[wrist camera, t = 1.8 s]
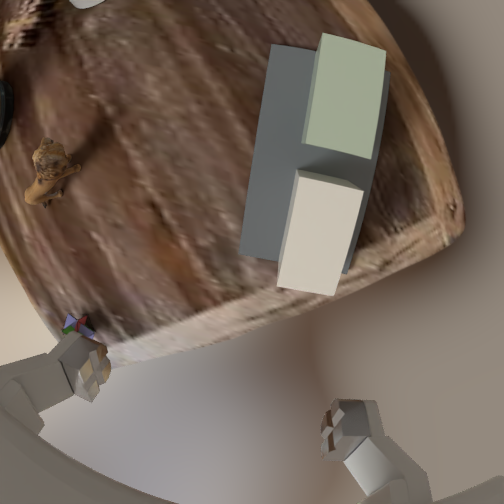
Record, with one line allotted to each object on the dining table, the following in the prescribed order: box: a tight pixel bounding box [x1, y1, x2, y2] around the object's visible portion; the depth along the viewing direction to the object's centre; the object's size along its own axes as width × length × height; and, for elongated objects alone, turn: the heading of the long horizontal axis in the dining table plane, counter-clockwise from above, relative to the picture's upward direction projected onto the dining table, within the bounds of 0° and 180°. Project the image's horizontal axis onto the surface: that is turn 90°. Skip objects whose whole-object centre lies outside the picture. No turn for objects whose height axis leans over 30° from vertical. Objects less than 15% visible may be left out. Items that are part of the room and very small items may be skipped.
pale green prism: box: [301, 33, 386, 159], centre depth 23 cm, size 11×6×7 cm, turn 171°
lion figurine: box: [25, 137, 81, 208], centre depth 30 cm, size 15×5×9 cm, turn 132°
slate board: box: [239, 44, 391, 274], centre depth 29 cm, size 26×14×1 cm, turn 171°
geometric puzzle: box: [61, 313, 95, 339], centre depth 42 cm, size 7×7×8 cm
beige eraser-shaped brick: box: [277, 169, 364, 296], centre depth 28 cm, size 11×6×7 cm, turn 171°
